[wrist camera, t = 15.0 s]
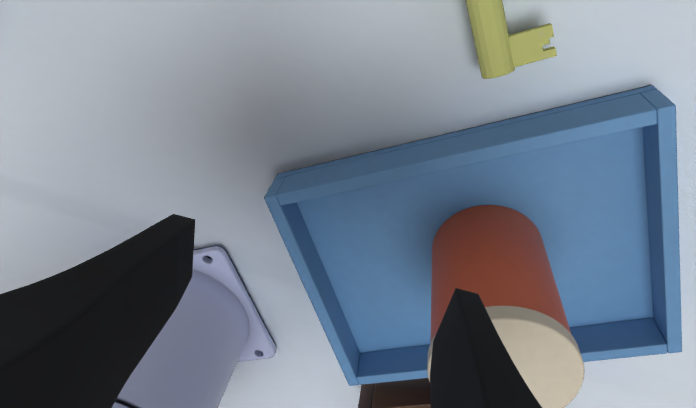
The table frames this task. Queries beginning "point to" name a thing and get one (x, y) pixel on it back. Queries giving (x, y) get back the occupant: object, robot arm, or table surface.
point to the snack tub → (509, 295)
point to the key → (504, 40)
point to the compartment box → (396, 394)
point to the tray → (503, 190)
